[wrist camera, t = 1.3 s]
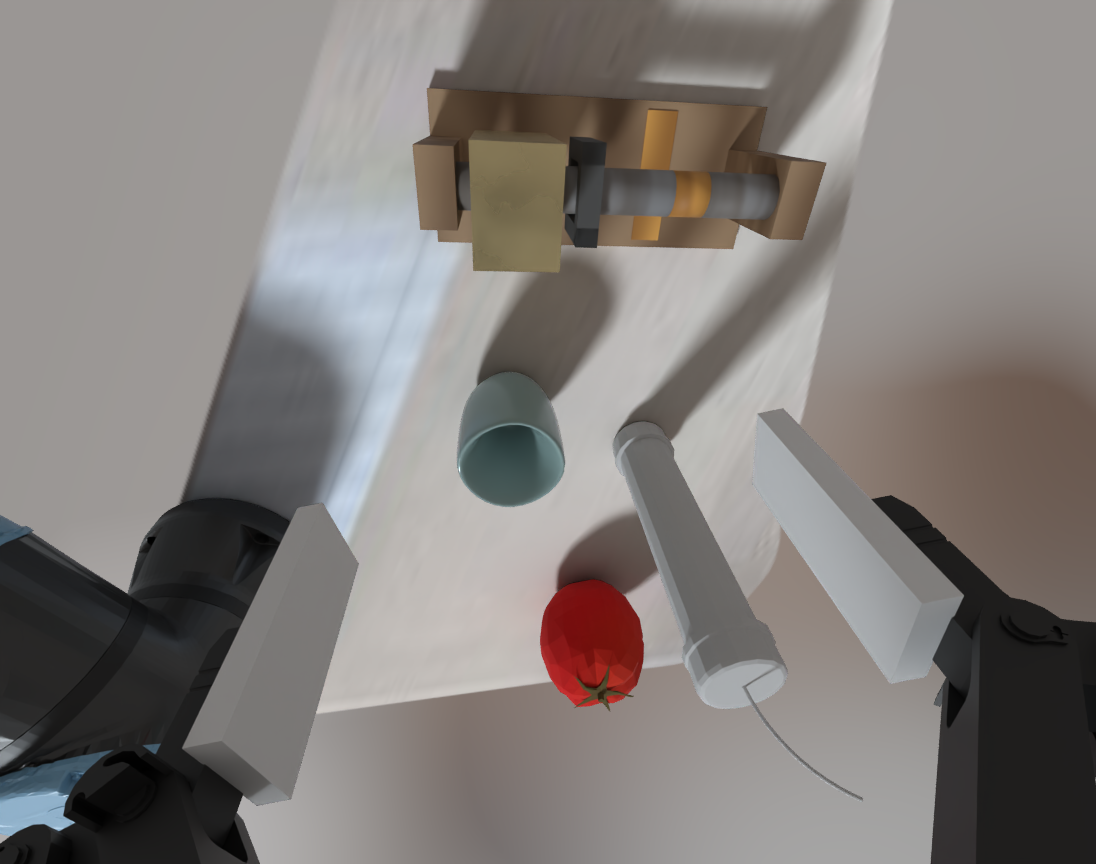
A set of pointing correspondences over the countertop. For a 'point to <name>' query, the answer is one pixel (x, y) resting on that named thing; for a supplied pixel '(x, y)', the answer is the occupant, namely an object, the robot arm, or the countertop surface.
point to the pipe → (700, 583)
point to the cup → (509, 441)
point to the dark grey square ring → (586, 190)
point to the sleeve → (516, 200)
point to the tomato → (592, 643)
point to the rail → (628, 167)
